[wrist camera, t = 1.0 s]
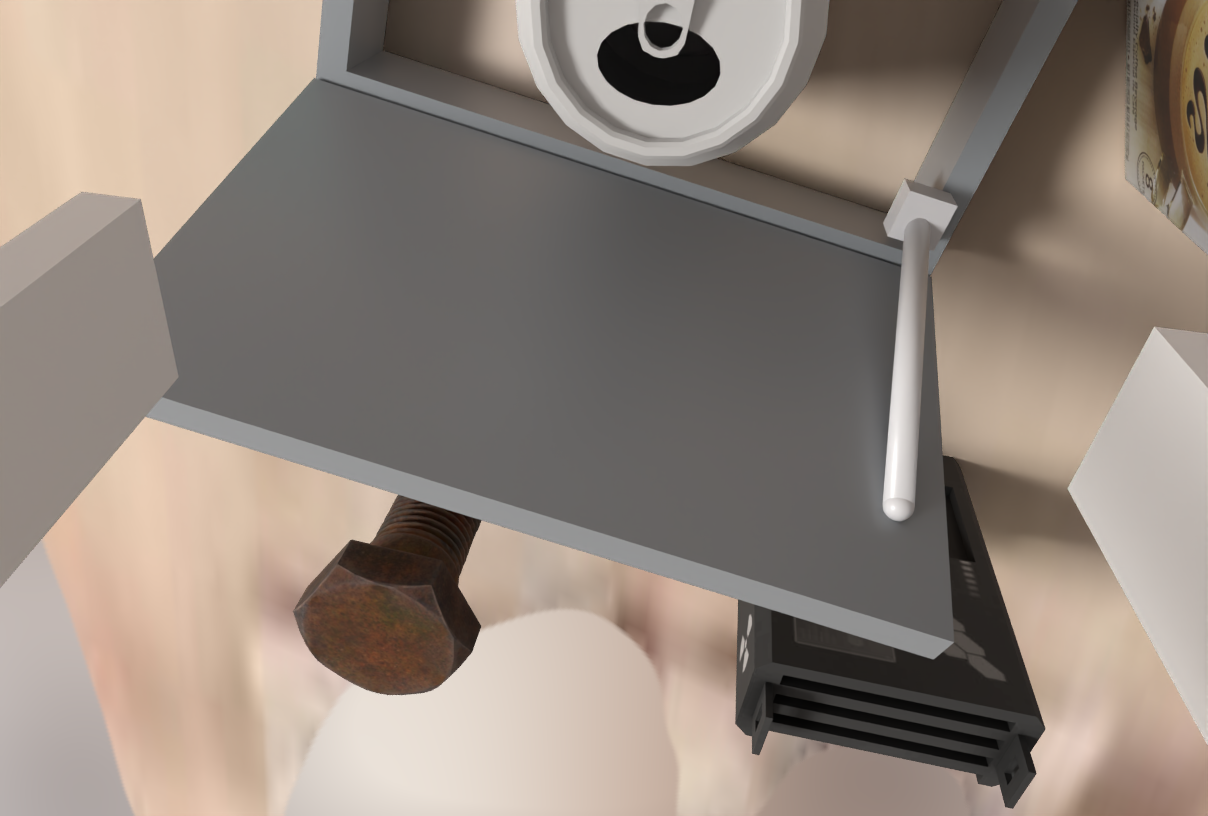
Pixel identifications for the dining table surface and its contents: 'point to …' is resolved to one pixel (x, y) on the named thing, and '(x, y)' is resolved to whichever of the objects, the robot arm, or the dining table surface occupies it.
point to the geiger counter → (902, 677)
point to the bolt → (395, 603)
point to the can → (671, 70)
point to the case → (594, 330)
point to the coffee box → (1169, 110)
